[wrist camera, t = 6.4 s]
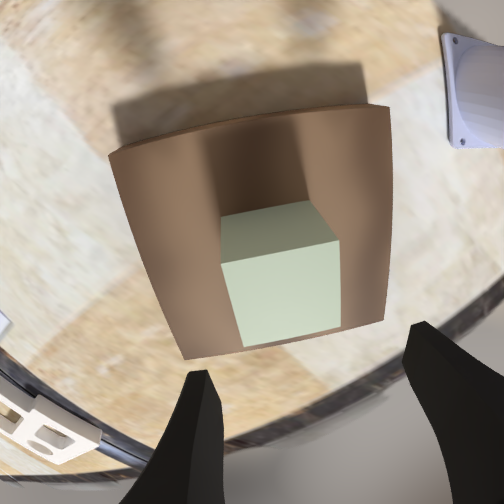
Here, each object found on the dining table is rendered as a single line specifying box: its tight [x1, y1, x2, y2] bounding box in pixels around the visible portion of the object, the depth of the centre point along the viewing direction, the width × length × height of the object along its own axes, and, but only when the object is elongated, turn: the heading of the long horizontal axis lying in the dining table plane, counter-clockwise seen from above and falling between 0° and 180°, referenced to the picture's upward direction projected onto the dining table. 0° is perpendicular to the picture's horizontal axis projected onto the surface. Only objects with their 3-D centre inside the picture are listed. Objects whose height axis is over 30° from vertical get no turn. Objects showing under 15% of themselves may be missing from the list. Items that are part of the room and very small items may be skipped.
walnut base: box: [108, 104, 393, 360], centre depth 18 cm, size 14×14×2 cm
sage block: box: [221, 200, 341, 347], centre depth 15 cm, size 4×4×4 cm
